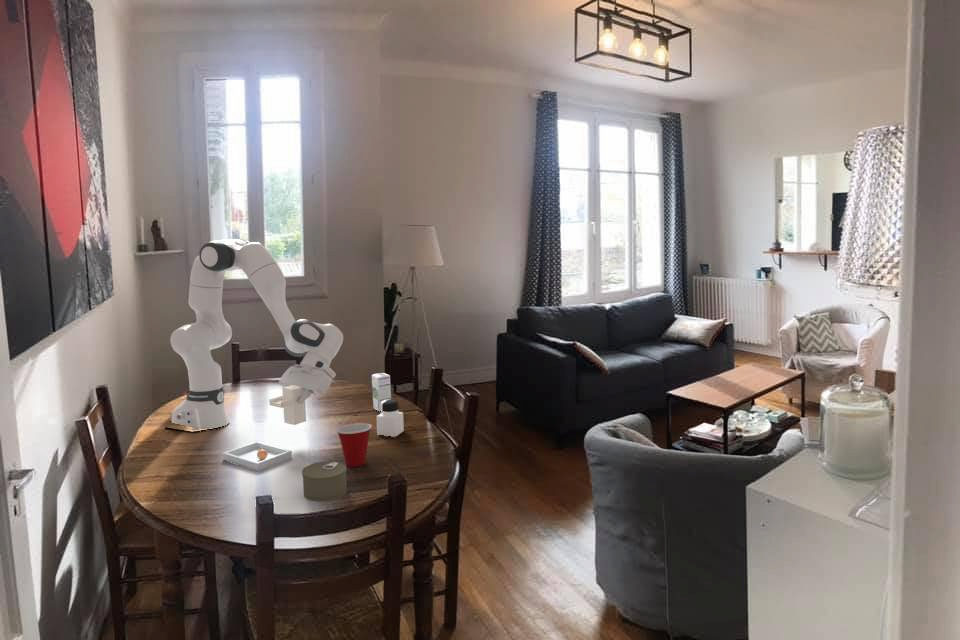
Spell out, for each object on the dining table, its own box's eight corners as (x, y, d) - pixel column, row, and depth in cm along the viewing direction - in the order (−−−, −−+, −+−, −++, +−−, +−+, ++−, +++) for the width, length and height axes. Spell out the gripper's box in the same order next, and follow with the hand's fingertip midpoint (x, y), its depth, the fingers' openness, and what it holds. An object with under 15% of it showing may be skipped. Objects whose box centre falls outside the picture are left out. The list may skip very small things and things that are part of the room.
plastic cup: (360, 454, 207) (358, 418, 205) (379, 463, 200) (378, 426, 198) (330, 463, 200) (328, 426, 198) (350, 473, 192) (348, 434, 190)
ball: (257, 446, 202) (267, 448, 202) (260, 451, 204) (270, 452, 204) (254, 456, 200) (264, 457, 200) (256, 460, 203) (266, 462, 202)
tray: (223, 460, 203) (222, 453, 203) (257, 448, 214) (257, 441, 214) (257, 471, 194) (257, 463, 194) (292, 458, 205) (291, 450, 204)
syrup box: (392, 410, 257) (391, 374, 255) (378, 412, 254) (377, 376, 252) (385, 407, 262) (384, 372, 259) (372, 409, 258) (371, 374, 256)
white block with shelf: (295, 418, 219) (293, 384, 218) (307, 421, 216) (305, 386, 214) (271, 426, 211) (268, 390, 209) (283, 429, 208) (281, 393, 206)
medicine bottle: (404, 431, 231) (403, 398, 229) (395, 437, 224) (394, 404, 222) (386, 429, 233) (385, 397, 231) (376, 435, 226) (375, 402, 224)
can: (293, 498, 175) (292, 474, 174) (319, 481, 186) (318, 459, 185) (331, 504, 171) (330, 480, 170) (355, 487, 182) (354, 464, 181)
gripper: (287, 358, 224) (266, 392, 218) (329, 365, 213) (307, 400, 206) (298, 368, 229) (277, 401, 222) (339, 375, 217) (319, 410, 211)
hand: (292, 401), depth 214 cm, fingers closed on white block with shelf, 5 cm apart
